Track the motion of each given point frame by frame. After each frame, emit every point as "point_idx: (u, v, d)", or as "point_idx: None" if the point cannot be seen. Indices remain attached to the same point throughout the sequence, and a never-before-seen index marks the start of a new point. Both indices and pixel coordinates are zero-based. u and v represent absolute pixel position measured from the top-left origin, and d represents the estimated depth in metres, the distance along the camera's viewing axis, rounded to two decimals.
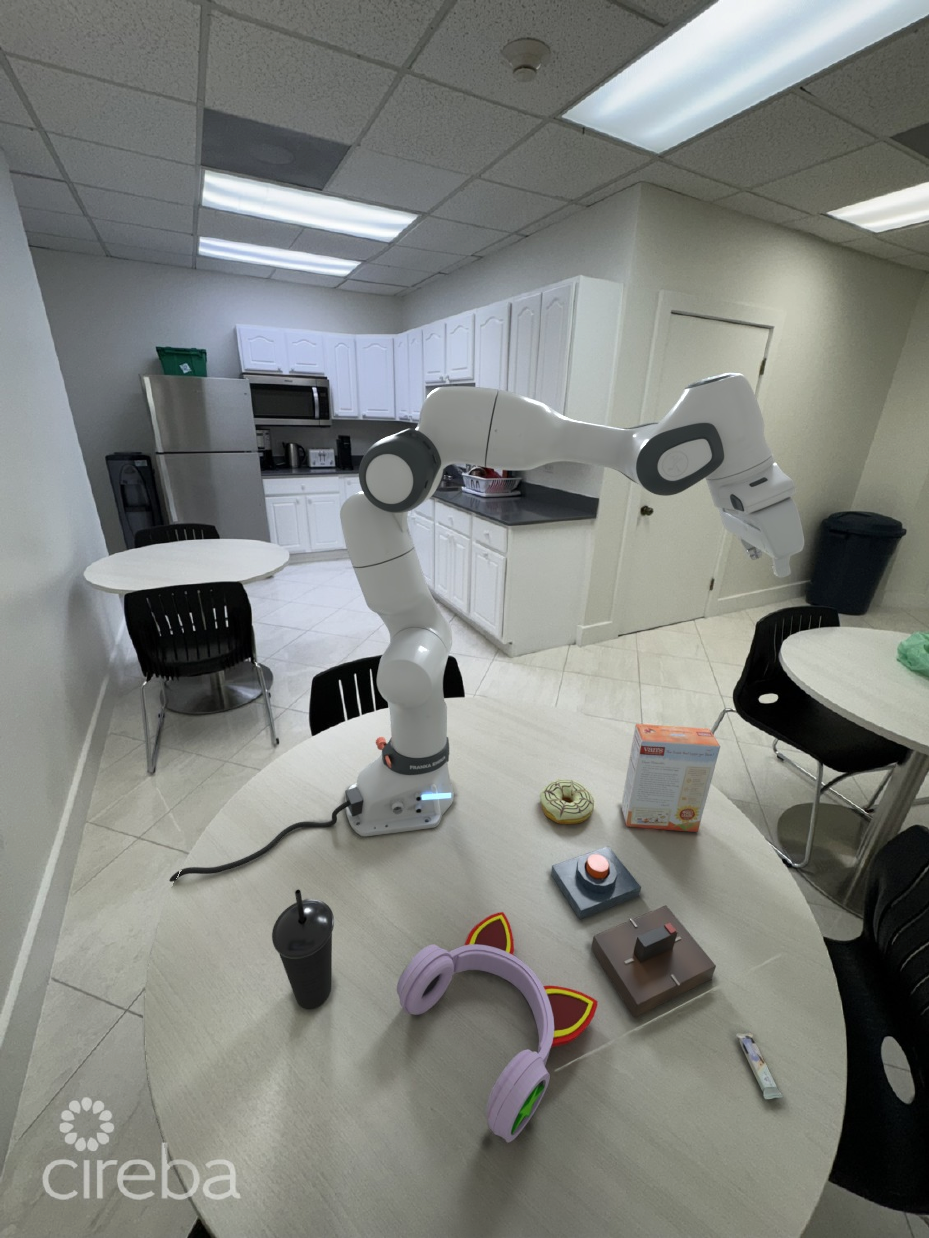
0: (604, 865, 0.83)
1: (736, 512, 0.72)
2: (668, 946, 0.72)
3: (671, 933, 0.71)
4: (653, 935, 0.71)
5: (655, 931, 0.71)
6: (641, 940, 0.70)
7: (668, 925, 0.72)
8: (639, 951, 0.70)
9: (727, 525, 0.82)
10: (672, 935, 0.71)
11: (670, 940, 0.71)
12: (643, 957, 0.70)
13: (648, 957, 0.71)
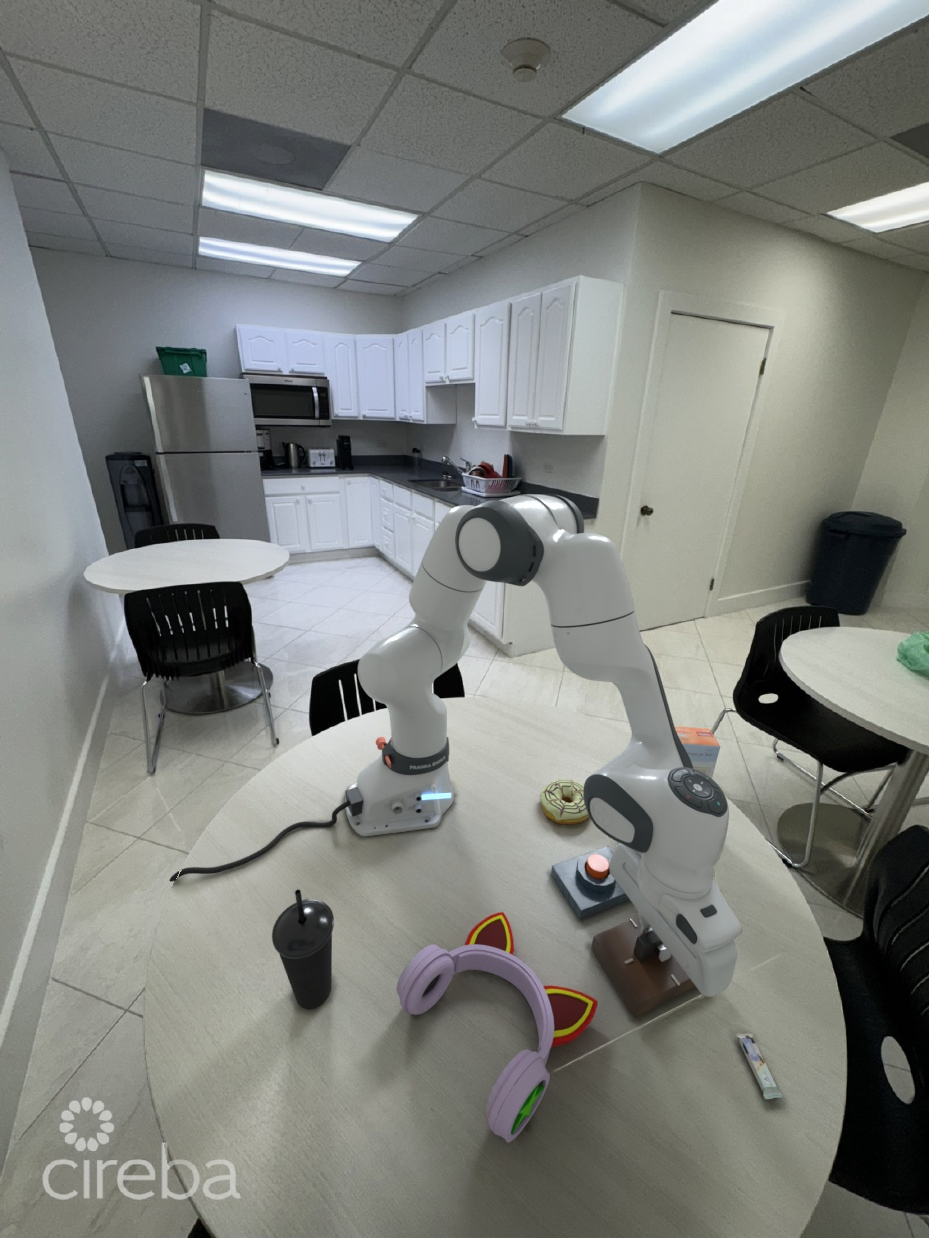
0: (604, 865, 0.83)
1: None
2: None
3: None
4: (653, 935, 0.71)
5: None
6: (641, 940, 0.70)
7: None
8: (639, 951, 0.70)
9: (619, 878, 0.75)
10: None
11: None
12: (643, 957, 0.70)
13: (648, 957, 0.71)
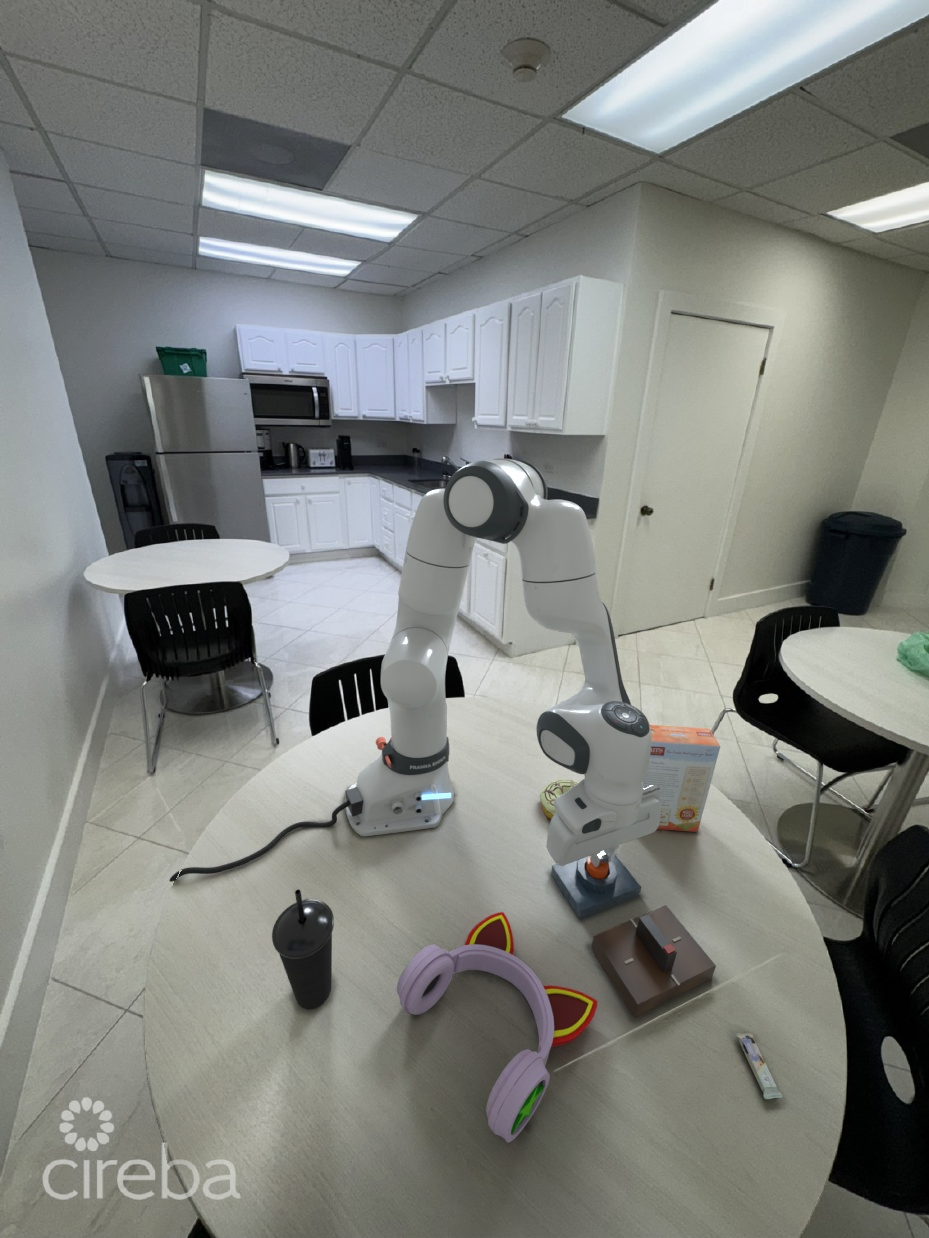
0: (604, 865, 0.83)
1: None
2: (659, 960, 0.70)
3: (663, 948, 0.69)
4: (654, 929, 0.71)
5: (660, 933, 0.71)
6: (644, 916, 0.73)
7: (671, 947, 0.69)
8: None
9: None
10: (662, 950, 0.69)
11: (661, 954, 0.69)
12: (637, 930, 0.74)
13: (641, 939, 0.73)
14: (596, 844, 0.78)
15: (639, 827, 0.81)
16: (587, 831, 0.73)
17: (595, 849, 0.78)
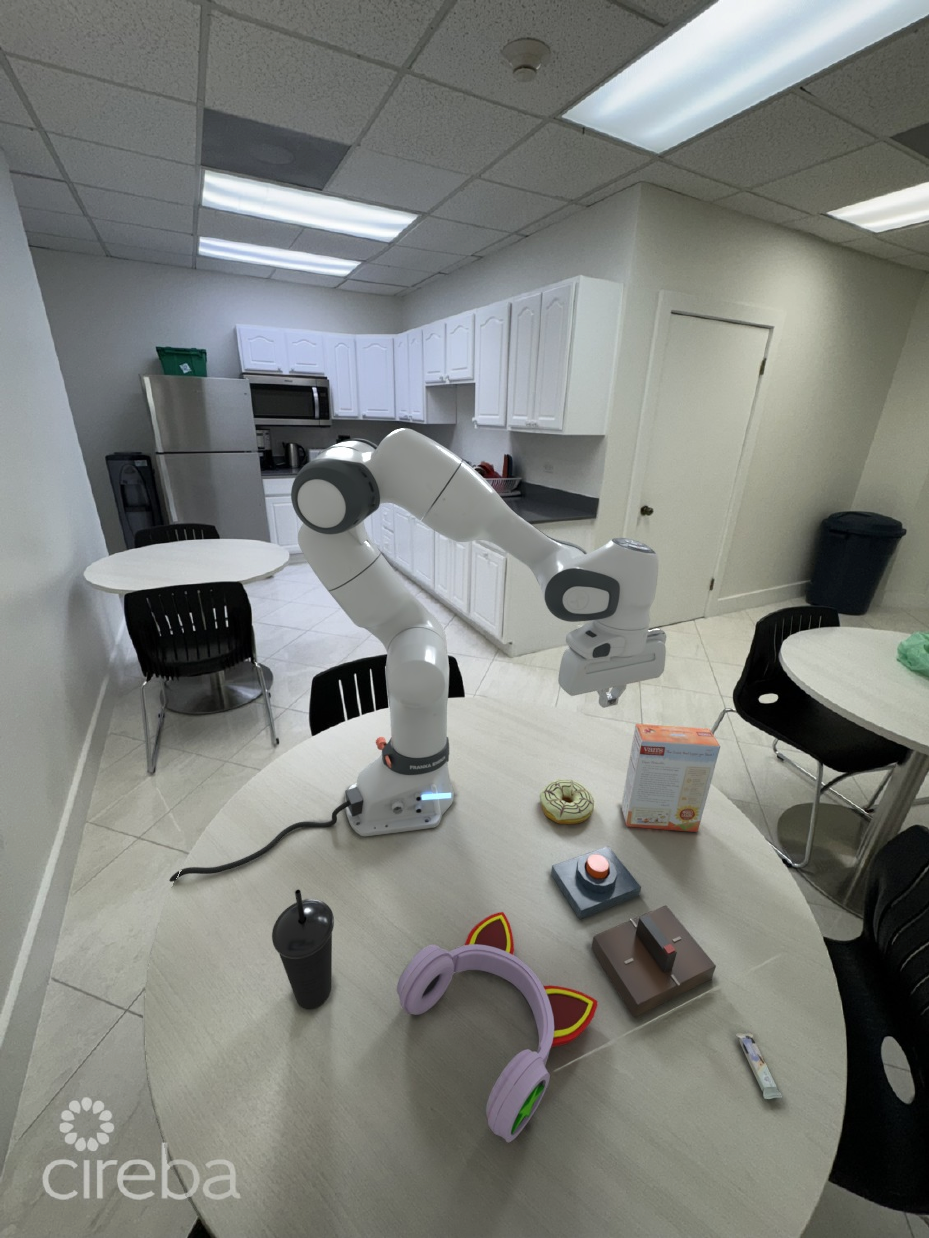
0: (604, 865, 0.83)
1: None
2: (659, 960, 0.70)
3: (663, 948, 0.69)
4: (654, 929, 0.71)
5: (660, 933, 0.71)
6: (644, 916, 0.73)
7: (671, 947, 0.69)
8: None
9: None
10: (662, 950, 0.69)
11: (661, 954, 0.69)
12: (637, 930, 0.74)
13: (641, 939, 0.73)
14: (605, 678, 0.83)
15: (646, 668, 0.86)
16: (597, 655, 0.78)
17: (604, 683, 0.83)
